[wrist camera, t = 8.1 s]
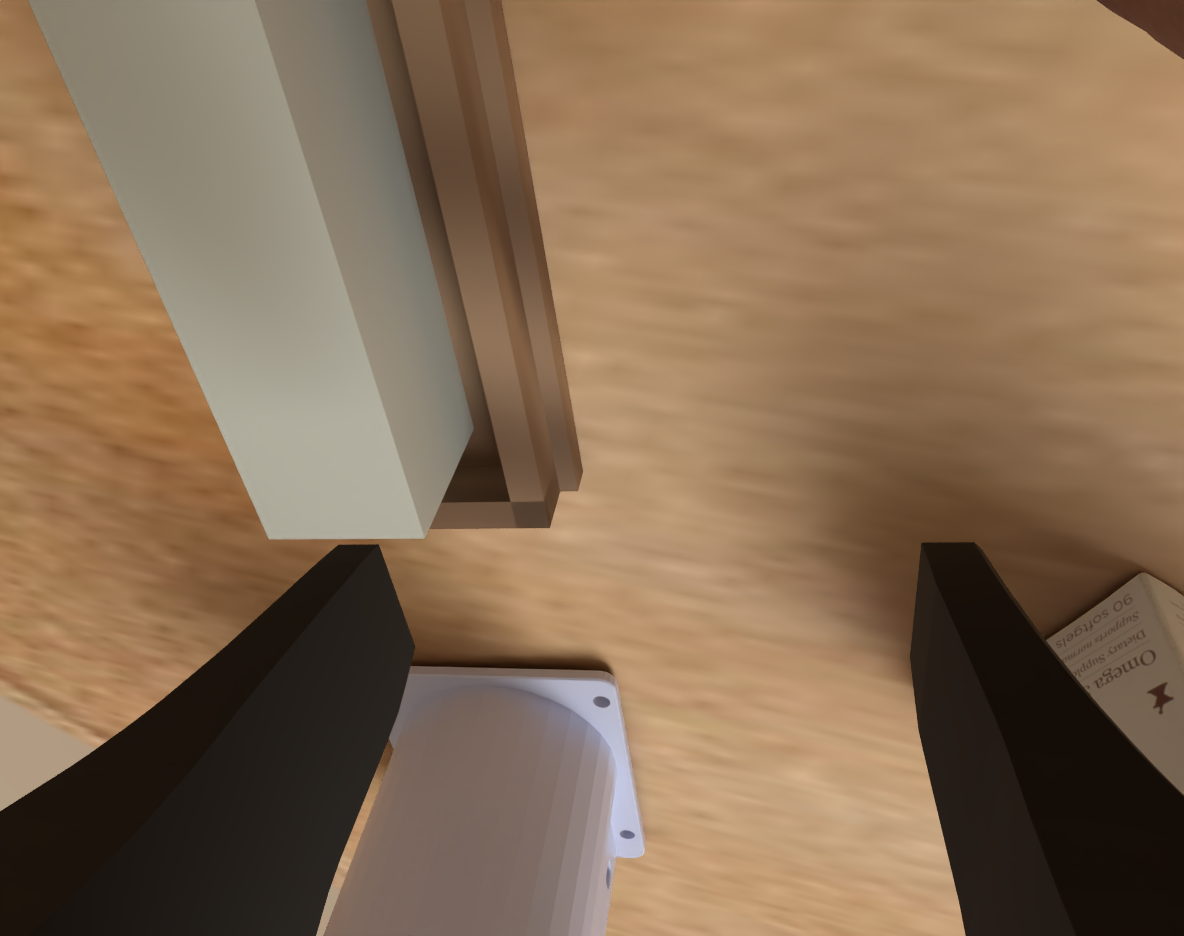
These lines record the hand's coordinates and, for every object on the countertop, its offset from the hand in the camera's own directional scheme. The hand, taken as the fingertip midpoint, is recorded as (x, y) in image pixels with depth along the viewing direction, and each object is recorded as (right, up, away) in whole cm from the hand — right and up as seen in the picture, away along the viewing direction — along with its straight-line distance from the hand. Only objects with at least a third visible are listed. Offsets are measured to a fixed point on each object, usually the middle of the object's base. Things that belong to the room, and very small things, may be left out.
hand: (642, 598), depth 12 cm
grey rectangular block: (-6, +7, +6) cm, 12 cm away
